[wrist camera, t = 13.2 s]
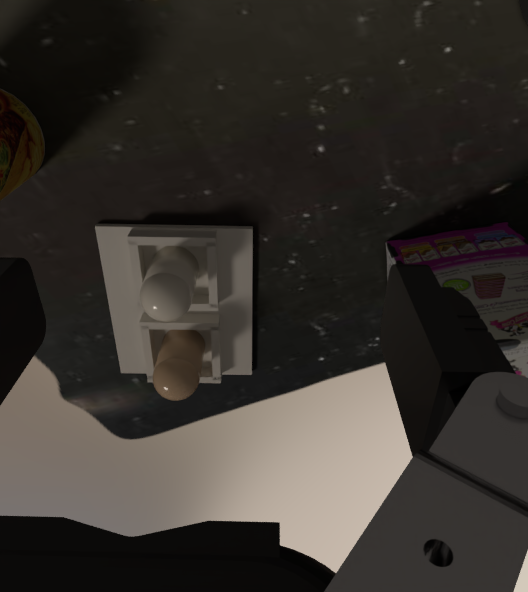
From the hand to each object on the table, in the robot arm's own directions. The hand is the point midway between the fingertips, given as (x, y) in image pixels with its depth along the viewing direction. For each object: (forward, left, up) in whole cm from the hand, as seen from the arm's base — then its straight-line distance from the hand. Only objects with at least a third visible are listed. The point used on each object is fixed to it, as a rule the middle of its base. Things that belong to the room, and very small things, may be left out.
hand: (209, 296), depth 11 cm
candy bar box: (-18, +14, -31) cm, 39 cm away
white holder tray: (+7, +20, -31) cm, 38 cm away
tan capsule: (+7, +25, -30) cm, 40 cm away
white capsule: (+7, +16, -30) cm, 35 cm away
